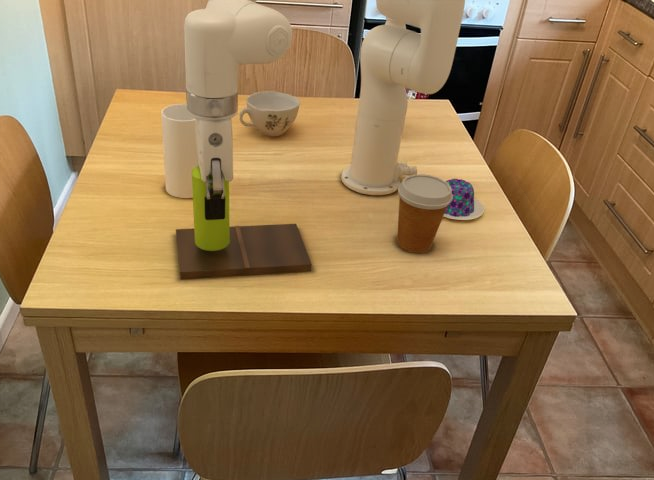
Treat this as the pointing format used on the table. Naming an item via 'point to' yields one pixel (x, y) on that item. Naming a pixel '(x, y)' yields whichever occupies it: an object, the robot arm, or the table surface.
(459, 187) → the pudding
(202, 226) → the soap dispenser
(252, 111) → the teacup
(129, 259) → the table surface
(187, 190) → the cup
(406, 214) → the disposable coffee cup
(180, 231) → the walnut board
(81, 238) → the table surface
